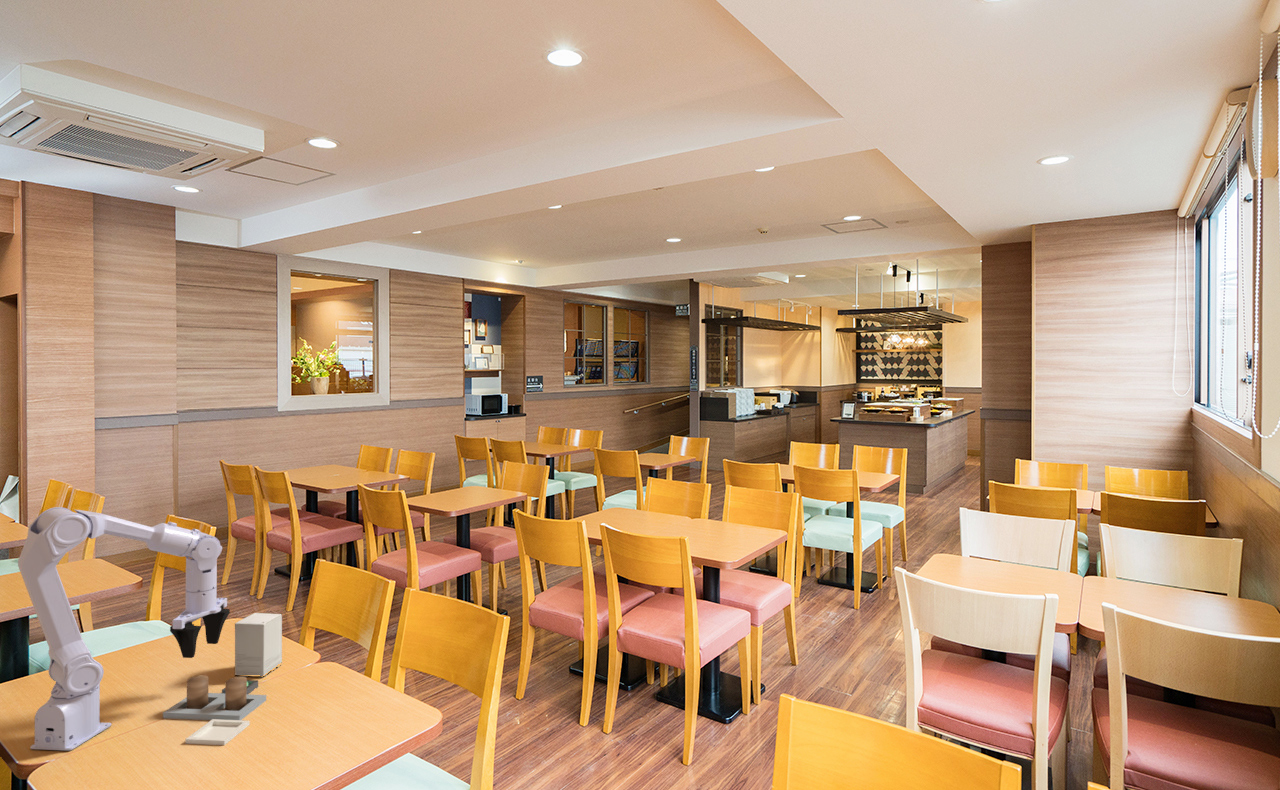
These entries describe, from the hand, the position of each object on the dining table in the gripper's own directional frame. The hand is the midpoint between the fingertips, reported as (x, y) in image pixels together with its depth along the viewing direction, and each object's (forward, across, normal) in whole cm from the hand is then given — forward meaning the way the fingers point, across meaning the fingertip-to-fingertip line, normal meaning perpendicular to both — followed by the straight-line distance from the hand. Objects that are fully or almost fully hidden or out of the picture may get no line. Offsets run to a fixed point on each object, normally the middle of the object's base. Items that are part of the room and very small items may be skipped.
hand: (200, 650), depth 148 cm
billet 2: (+10, -6, -12) cm, 17 cm away
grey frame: (+10, -6, -8) cm, 14 cm away
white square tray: (+10, -16, -15) cm, 24 cm away
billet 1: (+10, -6, -4) cm, 13 cm away
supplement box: (+10, +13, -5) cm, 17 cm away
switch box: (+10, +2, -8) cm, 13 cm away
